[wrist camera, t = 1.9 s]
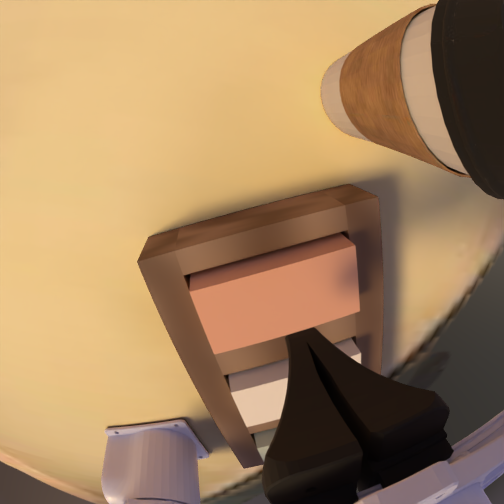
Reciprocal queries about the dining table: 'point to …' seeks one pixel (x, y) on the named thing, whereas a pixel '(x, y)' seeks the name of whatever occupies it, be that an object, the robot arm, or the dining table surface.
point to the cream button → (270, 387)
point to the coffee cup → (430, 89)
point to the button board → (251, 244)
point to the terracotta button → (276, 292)
